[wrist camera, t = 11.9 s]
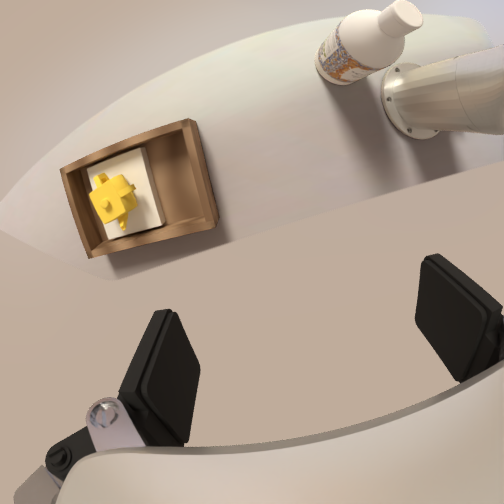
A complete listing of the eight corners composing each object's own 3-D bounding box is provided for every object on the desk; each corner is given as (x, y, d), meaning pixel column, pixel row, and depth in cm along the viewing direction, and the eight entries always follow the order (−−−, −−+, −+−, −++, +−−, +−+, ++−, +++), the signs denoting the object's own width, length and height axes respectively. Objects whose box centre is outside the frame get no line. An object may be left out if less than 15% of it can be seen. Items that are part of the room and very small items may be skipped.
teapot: (154, 210, 35) (141, 221, 30) (122, 228, 36) (106, 241, 31) (129, 158, 32) (111, 162, 28) (97, 179, 33) (78, 186, 28)
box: (195, 121, 34) (188, 118, 29) (219, 217, 39) (215, 227, 34) (77, 164, 35) (59, 169, 30) (103, 246, 40) (88, 258, 36)
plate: (145, 147, 34) (140, 147, 32) (165, 221, 38) (161, 225, 36) (93, 167, 34) (86, 168, 32) (114, 235, 38) (108, 239, 37)
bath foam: (318, 86, 32) (384, 42, 13) (309, 43, 29) (360, -26, 11) (363, 85, 32) (451, 55, 13) (354, 44, 29) (428, -9, 10)
